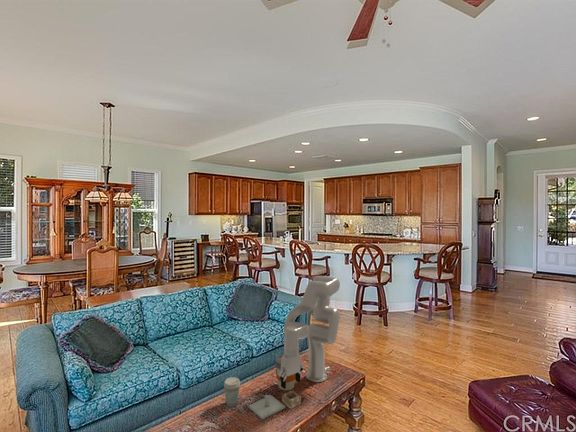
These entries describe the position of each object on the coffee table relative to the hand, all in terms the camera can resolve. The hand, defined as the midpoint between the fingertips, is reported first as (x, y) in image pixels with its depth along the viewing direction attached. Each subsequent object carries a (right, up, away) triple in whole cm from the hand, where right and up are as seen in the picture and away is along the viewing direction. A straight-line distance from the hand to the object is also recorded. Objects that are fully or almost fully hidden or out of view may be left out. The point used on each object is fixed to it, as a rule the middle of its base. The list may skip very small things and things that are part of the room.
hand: (290, 384), depth 166 cm
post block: (-12, -10, -3) cm, 16 cm away
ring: (0, -10, +1) cm, 10 cm away
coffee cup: (-30, -10, 0) cm, 32 cm away
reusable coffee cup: (-2, -10, +17) cm, 20 cm away
